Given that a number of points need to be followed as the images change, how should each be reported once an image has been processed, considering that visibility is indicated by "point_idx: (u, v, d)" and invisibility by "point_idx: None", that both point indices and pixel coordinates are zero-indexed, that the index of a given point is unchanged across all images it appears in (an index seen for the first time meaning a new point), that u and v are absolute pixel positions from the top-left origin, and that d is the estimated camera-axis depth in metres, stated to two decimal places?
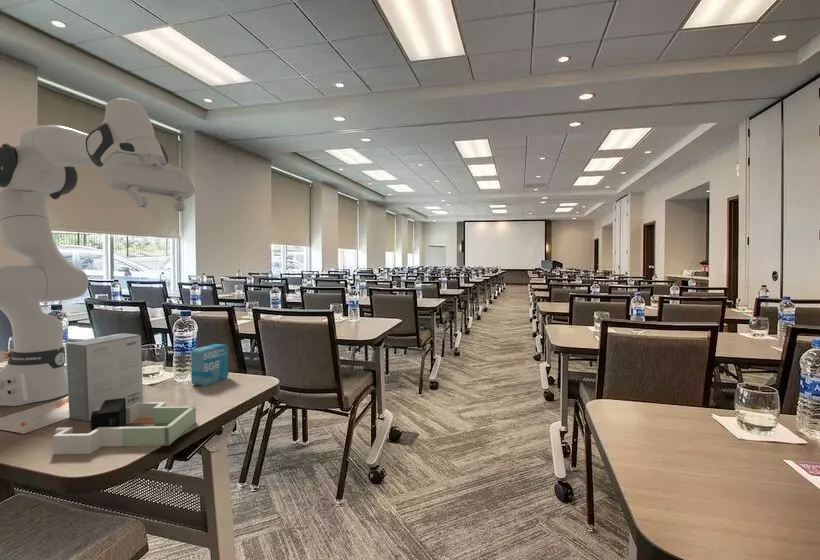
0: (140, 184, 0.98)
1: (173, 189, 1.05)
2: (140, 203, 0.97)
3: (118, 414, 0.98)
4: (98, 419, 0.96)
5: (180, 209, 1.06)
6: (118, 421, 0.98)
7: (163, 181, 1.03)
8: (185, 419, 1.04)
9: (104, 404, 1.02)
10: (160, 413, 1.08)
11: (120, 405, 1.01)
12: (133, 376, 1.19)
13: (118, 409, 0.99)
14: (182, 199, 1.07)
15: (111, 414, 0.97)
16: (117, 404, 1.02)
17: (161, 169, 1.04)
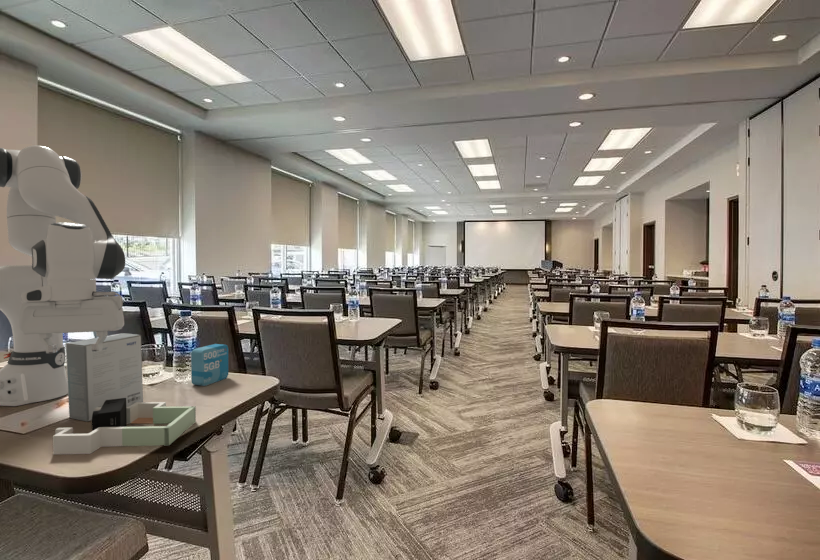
0: (47, 333, 0.97)
1: (86, 331, 0.98)
2: None
3: (119, 414, 0.98)
4: (99, 419, 0.96)
5: (95, 350, 0.99)
6: (119, 421, 0.98)
7: (75, 324, 0.97)
8: (185, 419, 1.04)
9: (105, 404, 1.02)
10: (160, 413, 1.08)
11: (121, 405, 1.01)
12: (133, 376, 1.19)
13: (119, 409, 0.99)
14: (98, 339, 0.99)
15: (112, 414, 0.97)
16: (117, 404, 1.02)
17: (79, 308, 0.98)
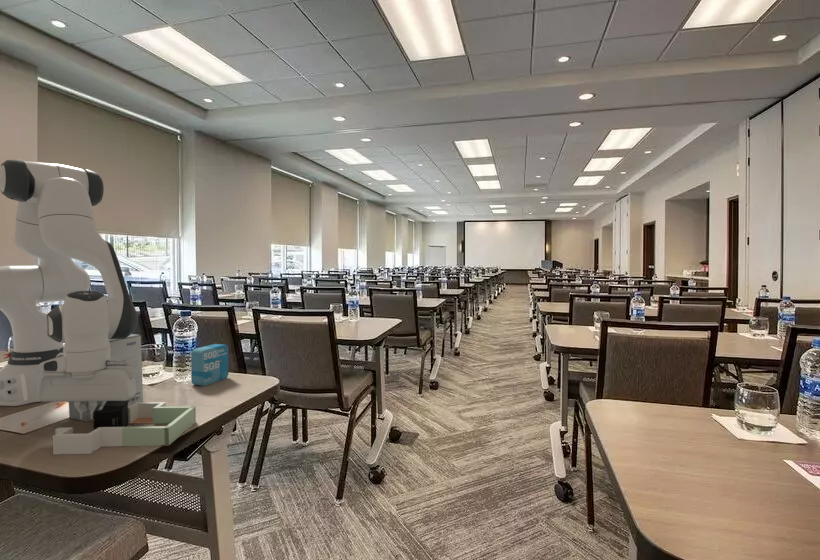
0: (63, 401, 0.99)
1: (99, 400, 0.99)
2: None
3: (121, 414, 0.98)
4: (101, 419, 0.96)
5: None
6: (121, 421, 0.98)
7: (89, 393, 0.99)
8: (185, 419, 1.04)
9: (106, 404, 1.02)
10: (160, 413, 1.08)
11: (122, 405, 1.02)
12: None
13: (121, 409, 0.99)
14: (92, 409, 1.00)
15: (114, 414, 0.97)
16: (119, 403, 1.02)
17: (92, 377, 0.99)
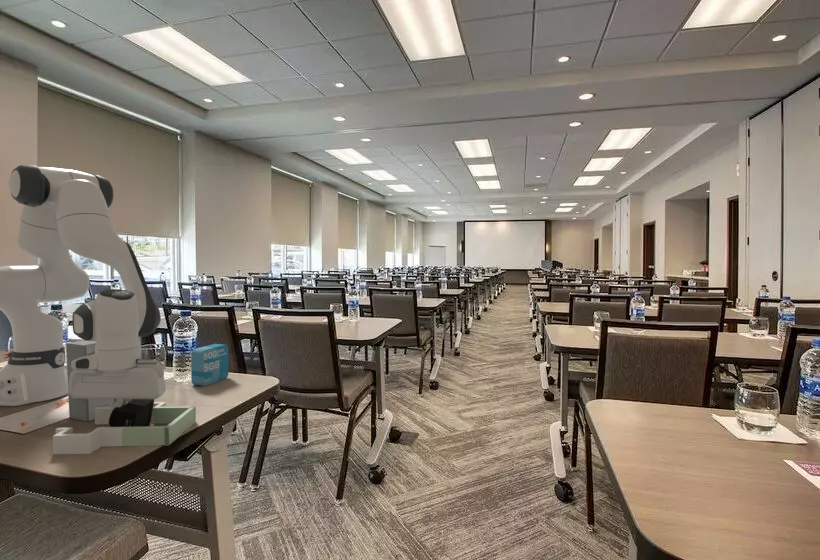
0: (93, 398, 0.99)
1: (129, 398, 1.00)
2: None
3: (134, 416, 0.97)
4: (116, 417, 0.96)
5: None
6: (133, 423, 0.97)
7: (119, 391, 0.99)
8: (185, 419, 1.04)
9: (131, 401, 1.02)
10: (160, 413, 1.08)
11: (142, 406, 1.01)
12: None
13: (137, 411, 0.98)
14: (118, 406, 1.00)
15: (128, 415, 0.96)
16: (141, 404, 1.02)
17: (123, 376, 0.99)
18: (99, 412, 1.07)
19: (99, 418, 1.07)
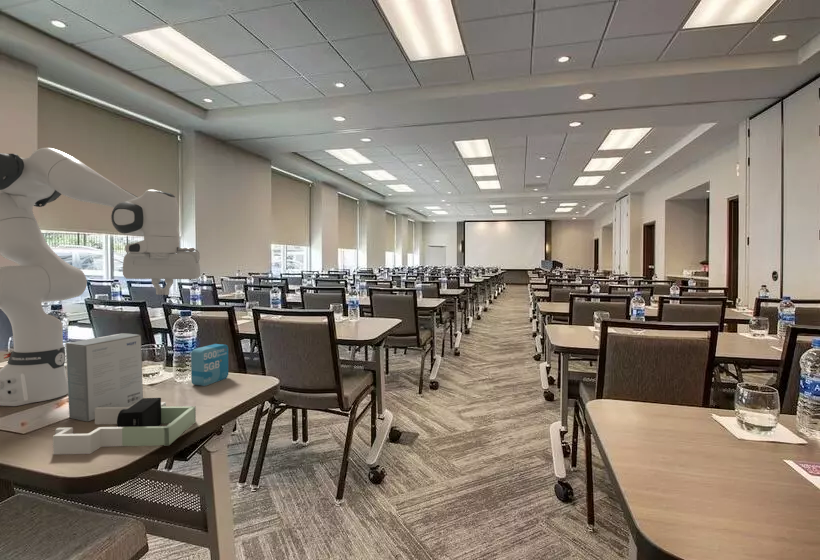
0: (142, 278, 1.22)
1: (172, 278, 1.22)
2: None
3: (141, 415, 0.97)
4: (123, 418, 0.97)
5: (163, 294, 1.24)
6: (141, 422, 0.97)
7: (164, 272, 1.22)
8: (185, 419, 1.04)
9: (137, 403, 1.03)
10: None
11: (148, 405, 1.01)
12: (133, 376, 1.19)
13: (143, 410, 0.98)
14: (166, 285, 1.23)
15: (134, 414, 0.97)
16: (147, 404, 1.03)
17: (167, 259, 1.22)
18: (99, 412, 1.07)
19: (99, 418, 1.07)
